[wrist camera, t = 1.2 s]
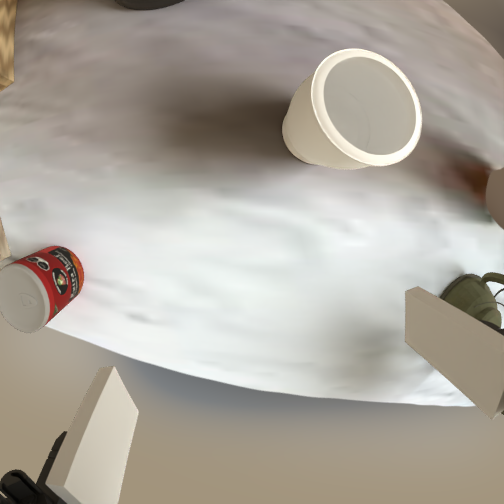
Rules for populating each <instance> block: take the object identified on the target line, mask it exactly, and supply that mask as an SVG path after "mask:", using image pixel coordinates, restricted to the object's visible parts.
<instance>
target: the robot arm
mask: <svg viewBox="0 0 504 504" xmlns="http://www.w3.org/2000/svg"><path fill="white" fill-rule="evenodd" d="M115 1H116V2H117V3H118V4H120V5H122V6H124V7H127V8H131V9H138V10H149V9H158V8H163V7H167V6H170V5H174V4H176V3H179V2H181V1H184V0H115ZM405 308H406V313H405V342H406V343H407V344H408V345H409V346H410V347H412V348H413V349H414V350H415V351H416V352H417V353H418V354H420V355H421V356H422V357H423V358H424V359H425V360H426V361H428V362H429V363H430V364H431V365H432V366H433V367H434V368H435V369H437V370H438V371H439V372H440V373H441V374H442V375H443V376H444V377H446V378H447V379H448V380H449V381H450V382H451V383H452V384H453V385H454V386H455V387H457V388H458V389H459V390H460V391H461V392H462V393H463V394H464V395H465V396H466V397H468V398H469V399H470V400H471V401H472V402H473V403H474V404H475V405H476V406H477V407H478V408H479V409H481V410H482V411H483V412H484V413H485V414H486V415H487V416H488V417H489V418H490V419H491V420H493V419H494V418H495V417H497V416H498V415H499V414H500V413H501V412H503V411H504V329H501V328H500V327H499V326H497V325H495V324H494V323H492V322H488V321H484V320H479V321H478V320H477V319H475V318H473V317H471V316H470V315H468V314H466V313H465V312H463V311H461V310H459V309H458V308H456V307H454V306H452V305H451V304H449V303H447V302H445V301H444V300H442V299H440V298H438V297H436V296H435V295H433V294H431V293H429V292H427V291H426V290H424V289H422V288H420V287H415V288H412V289H410V290H407V291H405ZM138 413H139V411H138V410H137V408H136V406H135V404H134V403H133V401H132V399H131V397H130V395H129V394H128V392H127V390H126V388H125V386H124V384H123V382H122V380H121V378H120V377H119V374H118V372H117V370H116V368H115V366H110V367H103V368H100V369H99V370H98V372H97V374H96V376H95V378H94V380H93V382H92V384H91V385H90V388H89V389H88V391H87V393H86V395H85V397H84V399H83V401H82V403H81V405H80V407H79V409H78V411H77V413H76V415H75V417H74V419H73V422H72V424H71V426H70V428H69V430H68V432H65V431H64V432H63V433H62V434H61V435H60V436H59V437H58V438H57V439H56V441H55V443H54V445H53V447H52V449H51V450H52V451H51V452H50V453H49V456H48V459H47V460H46V462H45V464H44V467H43V469H42V471H41V473H40V476H39V478H38V480H37V483H36V484H35V483H34V482H33V481H32V480H31V479H30V478H29V477H28V476H27V475H26V473H24V472H23V471H21V470H12V471H9V472H8V473H6V474H5V475H4V476H3V478H2V479H1V481H0V491H1V492H2V493H3V494H4V495H5V496H6V497H7V498H4V497H3V496H2V495H1V494H0V504H118V500H119V496H120V490H121V486H122V481H123V476H124V472H125V467H126V463H127V457H128V454H129V449H130V445H131V441H132V437H133V433H134V429H135V425H136V421H137V417H138Z"/></svg>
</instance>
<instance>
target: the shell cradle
mask: <svg viewBox="0 0 504 504" xmlns="http://www.w3.org/2000/svg"><path fill="white" fill-rule="evenodd" d="M16 8H17V0H0V92H1V91H2V90H3V89H5V88H6V87H7V86H9V85H10V84H12V83H13V82H14V31H15V18H16Z"/></svg>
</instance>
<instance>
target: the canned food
mask: <svg viewBox="0 0 504 504" xmlns="http://www.w3.org/2000/svg"><path fill="white" fill-rule="evenodd" d="M83 281H84V272H83V267H82V265H81V262H80V261H79V259H78V258H77V256H76V255H75V254H74V253H73V252H72V251H70V250H68V249H67V248H64V247H60V246H51V247H48V248H46V249H43V250H41V251H38V252H36V253H34V254H31V255H29V256H27V257H24V258H22V259H20V260H17V261H15V262H13V263H11V264H9V265H7V266H5V267H4V268H3V269H1V270H0V312H1V313H2V315H3V317H4V318H5V320H7V322H8V323H9V324H10V325H11V326H13V327H14V328H15V329H17V330H19V331H22V332H25V333H32V332H36V331H38V330H39V329H41V328H42V327H44V326H45V325H46V324H47V323H48V322H49V321H50V320H51V319H52V318H53V317H54V316H55V315H57V314H58V313H59V312H60V311H61V310H62V309H63V308H64V307H65V306H66V305H67V304H69V303H70V302H71V301H72V300H73V299H74V298H75V297H76V296H77V295H78V294H79V293H80V291H81V288H82V286H83Z"/></svg>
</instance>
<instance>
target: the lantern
mask: <svg viewBox="0 0 504 504" xmlns="http://www.w3.org/2000/svg"><path fill="white" fill-rule="evenodd" d="M489 281H493V282H497V283H500V284H503V285H504V275H502V274H499V273H493V272H490V273H486V274H485V275H484V276H483V277H482V278H481V277H480V276H477V275H474V274H466V275H463V276H461V277H459V278H458V279H456V280H455V281H454V282H452V283H451V285H450V286H449V287H448V288H447V289H446V290H445V291H444V293H443V294H442V296H441V297H440V299H442V300H444V301H445V302H447V303H449V304H451V305H452V306H454V307H456V308H458V309H459V310H461V311H463V312H465V313H466V314H468V315H470V316H471V317H473V318H475V319H477V320H478V321H479V320H484V321H488V322H492V323H494V324H495V325H497V326H499V327H500V328H501V320H502V319H501V313H500V311H498V310H497V303H498V304H501V303H499V302H496V300H495V297H496V295H497V294H498V293H500V292H501V291H503V290H504V288H503V289H501V290H500V291H498V292H497V293H496V295H495V296H493V294H492V293H491V291H490V289H489V287H488V286H487V284H486V282H489ZM501 305H503V304H501ZM503 306H504V305H503ZM501 413H502V414H503V415H504V411H503V412H501Z"/></svg>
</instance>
